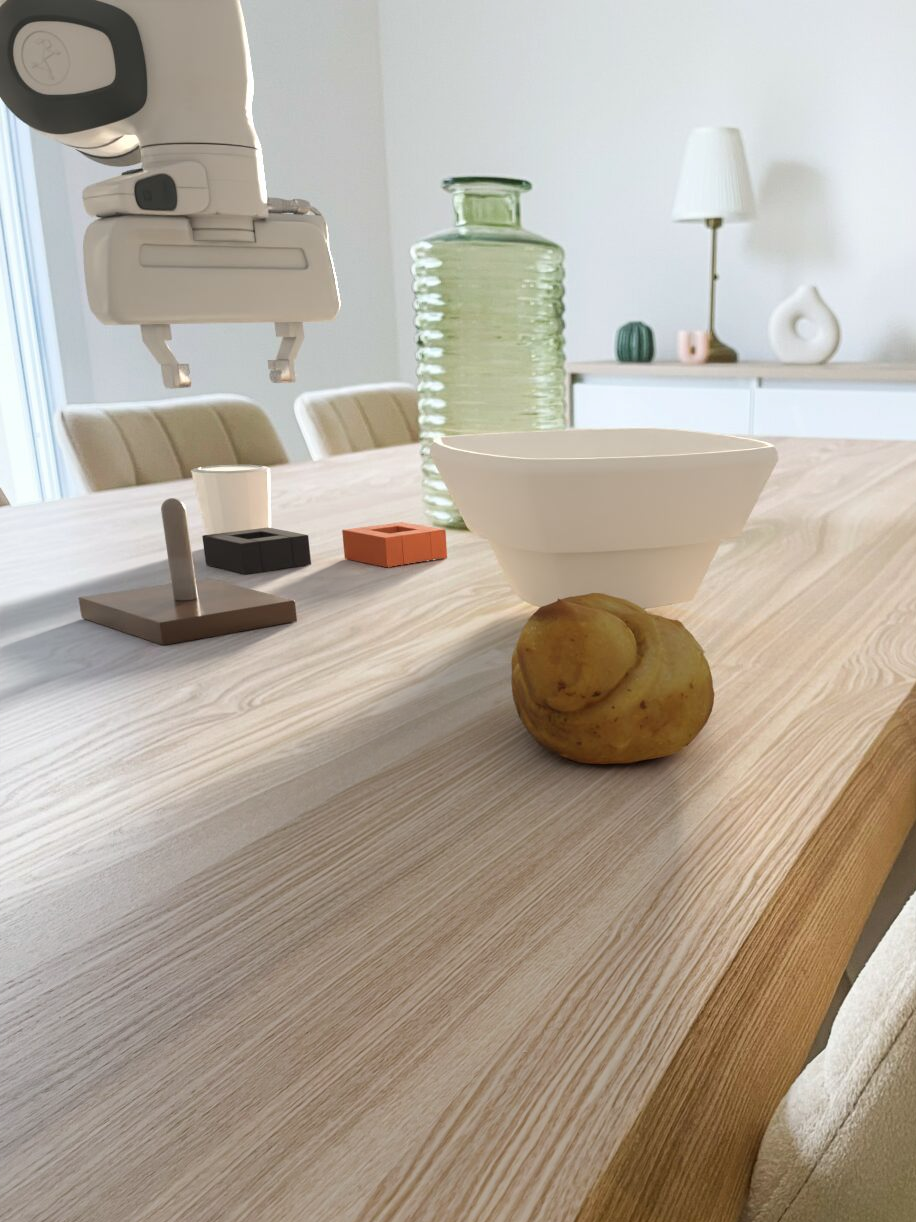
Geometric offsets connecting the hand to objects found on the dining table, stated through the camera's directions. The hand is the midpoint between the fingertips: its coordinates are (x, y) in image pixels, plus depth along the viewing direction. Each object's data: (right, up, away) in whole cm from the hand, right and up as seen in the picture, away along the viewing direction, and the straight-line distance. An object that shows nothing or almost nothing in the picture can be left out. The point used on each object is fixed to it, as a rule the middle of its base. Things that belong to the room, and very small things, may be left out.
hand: (232, 385), depth 105 cm
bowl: (+30, -20, -10) cm, 38 cm away
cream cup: (-4, -9, +15) cm, 18 cm away
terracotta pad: (+11, -12, +9) cm, 19 cm away
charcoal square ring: (0, -13, +6) cm, 15 cm away
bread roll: (+32, -33, -39) cm, 60 cm away
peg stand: (+1, -22, -14) cm, 26 cm away
